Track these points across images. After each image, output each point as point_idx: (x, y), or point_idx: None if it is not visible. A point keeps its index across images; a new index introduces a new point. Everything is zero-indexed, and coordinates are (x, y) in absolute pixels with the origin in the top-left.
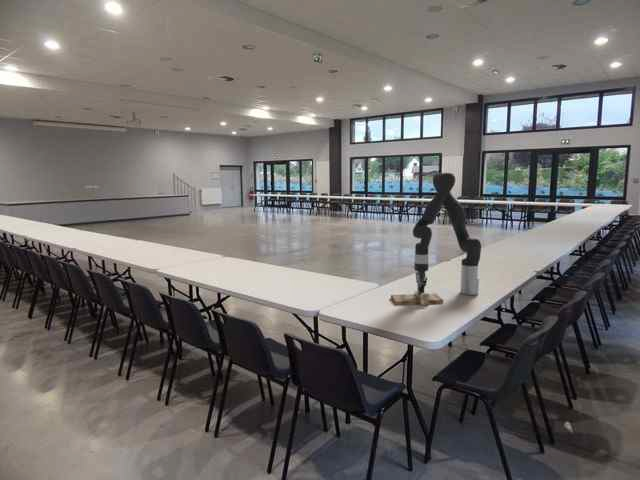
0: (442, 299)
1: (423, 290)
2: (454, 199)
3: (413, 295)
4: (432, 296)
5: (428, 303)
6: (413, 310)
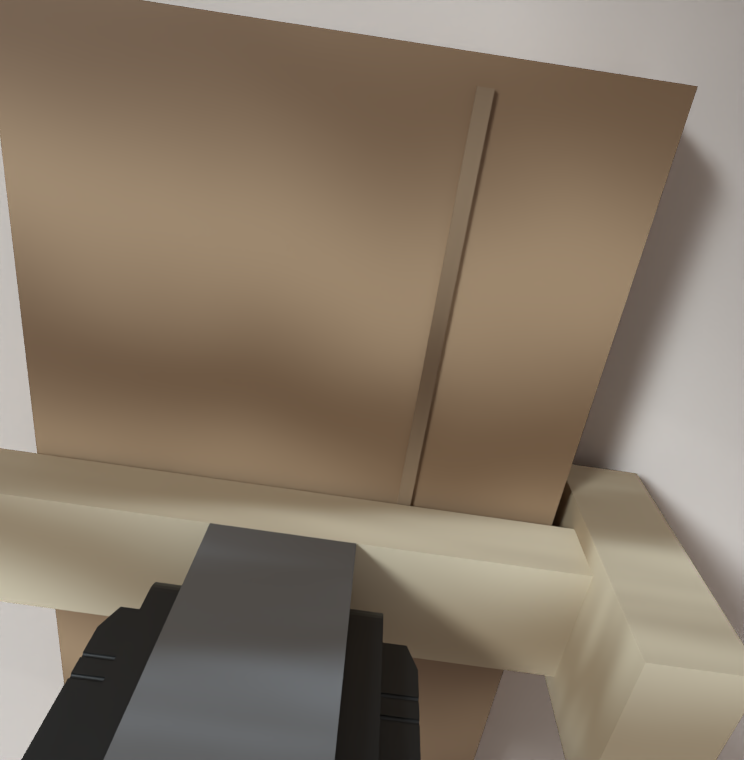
0: (662, 89)
1: (418, 709)
2: None
3: None
4: (293, 246)
5: (641, 496)
6: (735, 750)
